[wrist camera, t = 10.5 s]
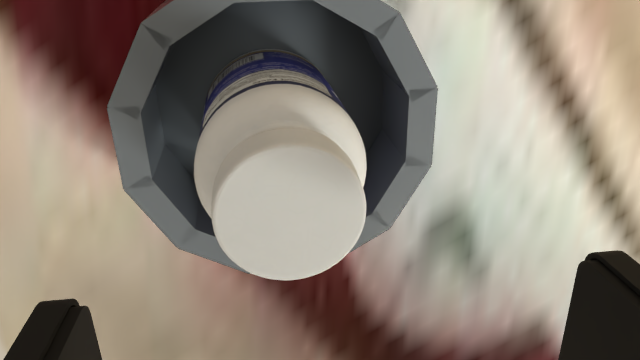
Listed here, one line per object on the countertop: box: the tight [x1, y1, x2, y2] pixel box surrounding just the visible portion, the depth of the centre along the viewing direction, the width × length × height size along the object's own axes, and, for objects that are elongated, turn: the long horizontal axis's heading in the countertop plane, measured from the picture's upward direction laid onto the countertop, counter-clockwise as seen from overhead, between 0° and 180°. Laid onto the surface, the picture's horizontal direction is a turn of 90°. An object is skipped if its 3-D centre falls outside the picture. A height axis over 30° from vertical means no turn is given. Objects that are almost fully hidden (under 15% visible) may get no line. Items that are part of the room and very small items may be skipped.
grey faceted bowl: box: [107, 0, 438, 274], centre depth 20 cm, size 11×11×4 cm
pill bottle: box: [194, 49, 367, 280], centre depth 17 cm, size 5×5×9 cm
